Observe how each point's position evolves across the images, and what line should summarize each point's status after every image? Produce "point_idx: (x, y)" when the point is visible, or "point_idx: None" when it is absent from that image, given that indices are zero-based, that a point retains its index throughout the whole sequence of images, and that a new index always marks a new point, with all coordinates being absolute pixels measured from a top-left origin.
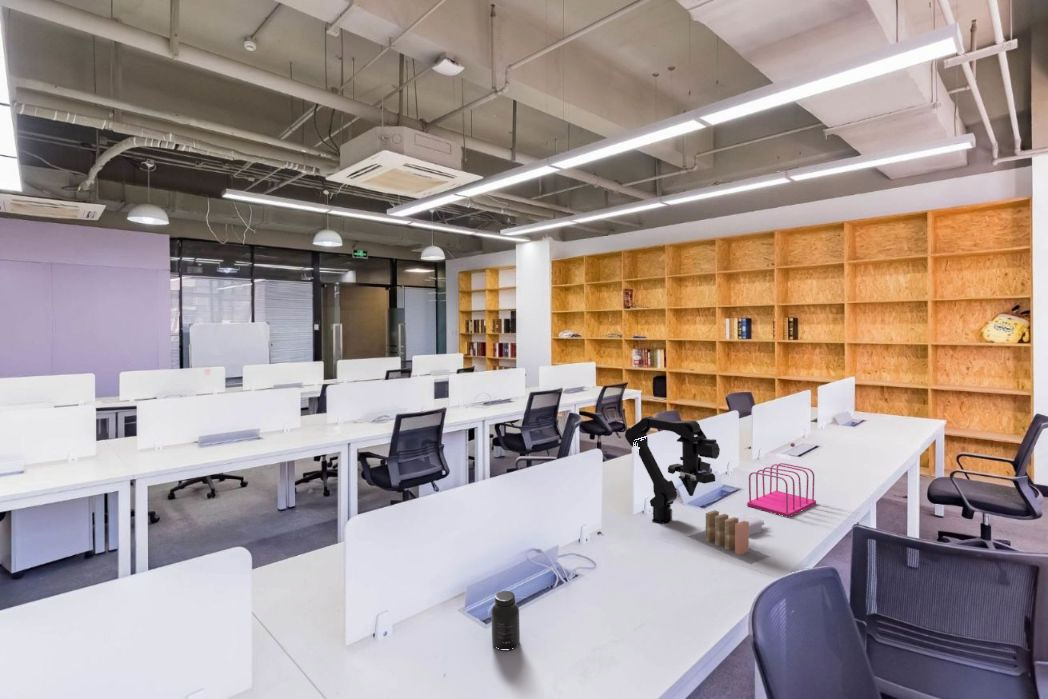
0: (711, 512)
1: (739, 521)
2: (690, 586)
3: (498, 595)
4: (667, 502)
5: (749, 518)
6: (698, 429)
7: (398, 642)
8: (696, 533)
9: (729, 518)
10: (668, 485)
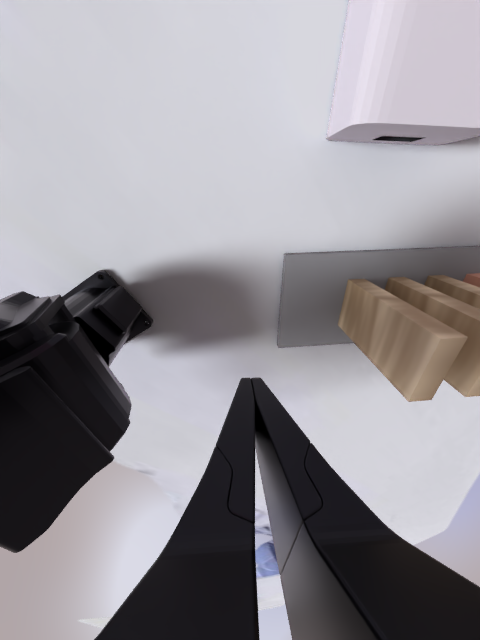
0: (432, 377)
1: (459, 88)
2: (404, 457)
3: None
4: (129, 399)
5: None
6: None
7: (271, 592)
8: (281, 307)
9: (384, 99)
10: (12, 483)
